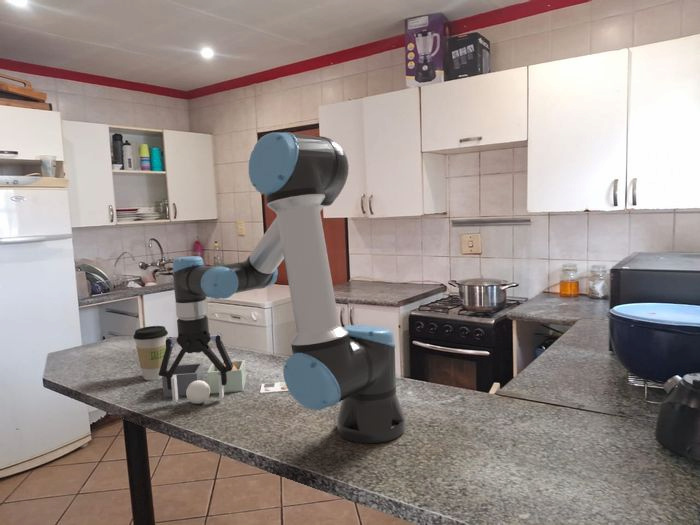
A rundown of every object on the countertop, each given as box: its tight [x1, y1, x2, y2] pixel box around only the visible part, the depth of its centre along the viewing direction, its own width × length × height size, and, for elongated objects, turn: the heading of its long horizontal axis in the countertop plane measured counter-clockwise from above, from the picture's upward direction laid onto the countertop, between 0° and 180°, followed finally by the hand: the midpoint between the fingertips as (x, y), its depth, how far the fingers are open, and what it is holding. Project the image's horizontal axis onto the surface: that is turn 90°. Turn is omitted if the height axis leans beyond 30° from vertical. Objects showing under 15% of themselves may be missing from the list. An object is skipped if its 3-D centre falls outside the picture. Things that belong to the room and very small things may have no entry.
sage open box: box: [206, 359, 247, 394], centre depth 144 cm, size 9×9×6 cm
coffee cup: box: [133, 325, 169, 381], centre depth 154 cm, size 10×10×15 cm
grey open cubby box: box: [161, 362, 205, 398], centre depth 142 cm, size 9×9×6 cm
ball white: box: [186, 380, 210, 405], centre depth 132 cm, size 6×6×6 cm
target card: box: [259, 381, 289, 394], centre depth 141 cm, size 7×9×1 cm
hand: (198, 398), depth 132 cm, fingers open, 11 cm apart
